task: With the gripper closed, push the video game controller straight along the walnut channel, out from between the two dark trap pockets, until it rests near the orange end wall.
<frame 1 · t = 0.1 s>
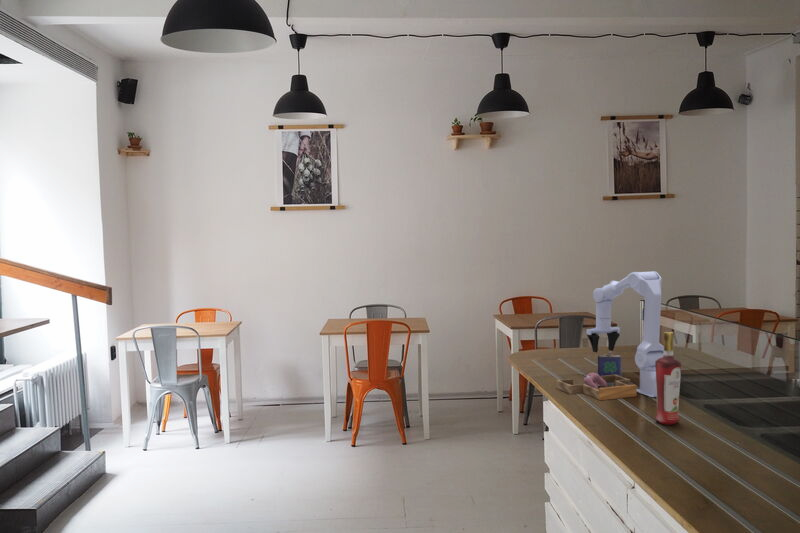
hand: (603, 351, 253), 10 cm above the counter, tool pointing down, fingers open, 7 cm apart
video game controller: (595, 389, 235), on the counter
liquor: (667, 423, 194), on the counter
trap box: (601, 391, 231), on the counter
flask: (609, 378, 251), on the counter
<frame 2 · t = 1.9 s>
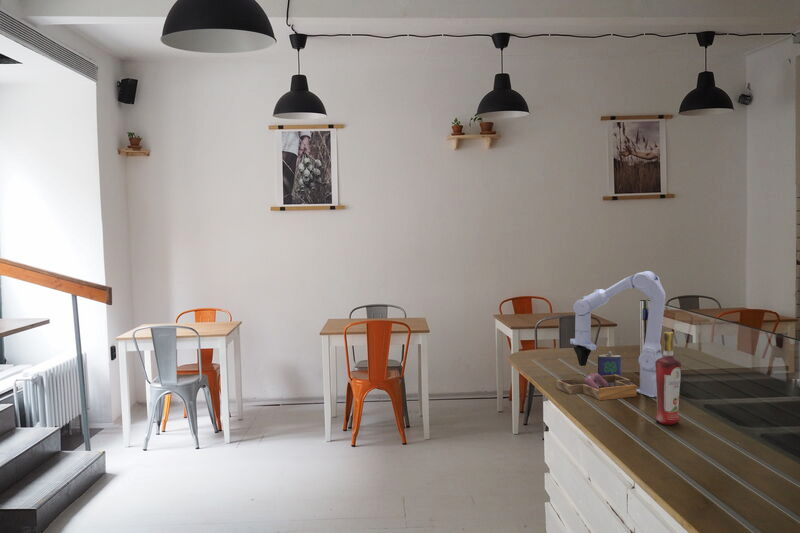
hand: (582, 365, 242), 7 cm above the counter, tool pointing down, fingers closed
nothing on the counter moved.
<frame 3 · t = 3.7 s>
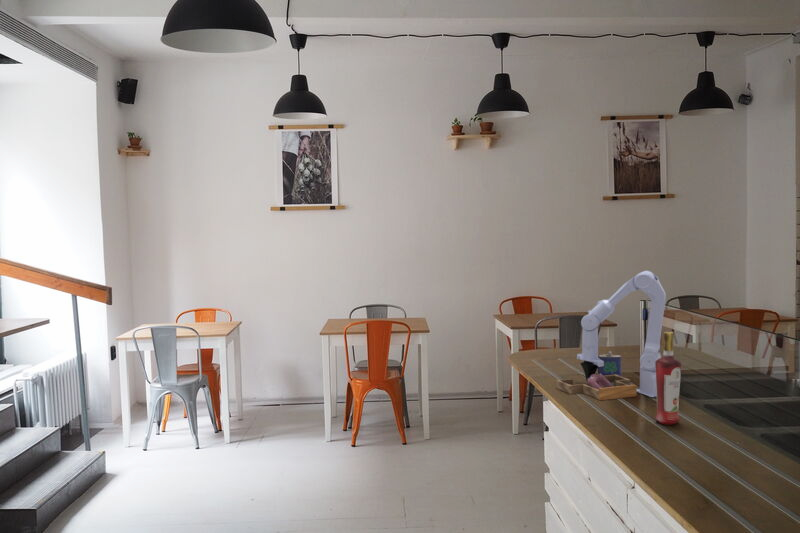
hand: (589, 381, 238), 2 cm above the counter, tool pointing down, fingers closed
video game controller: (599, 390, 233), on the counter, touching gripper
everything else where it was.
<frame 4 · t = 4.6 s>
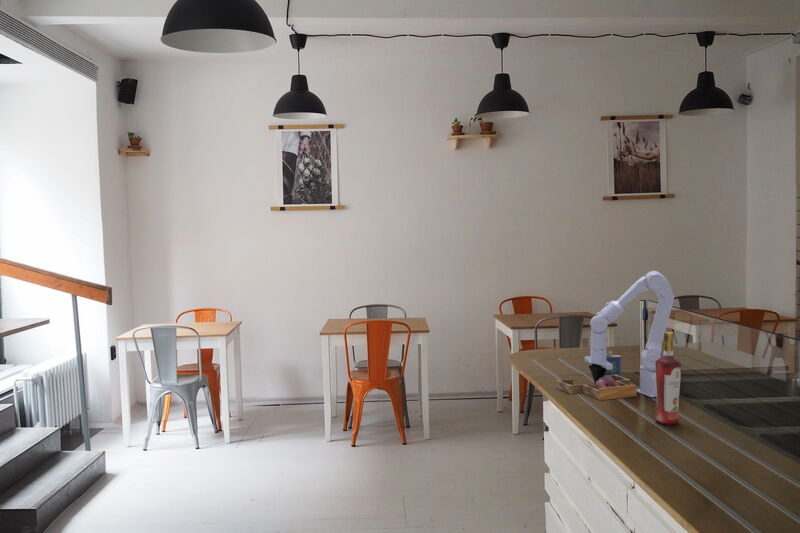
hand: (598, 384, 233), 2 cm above the counter, tool pointing down, fingers closed
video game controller: (608, 393, 228), on the counter, touching gripper
everything else where it was.
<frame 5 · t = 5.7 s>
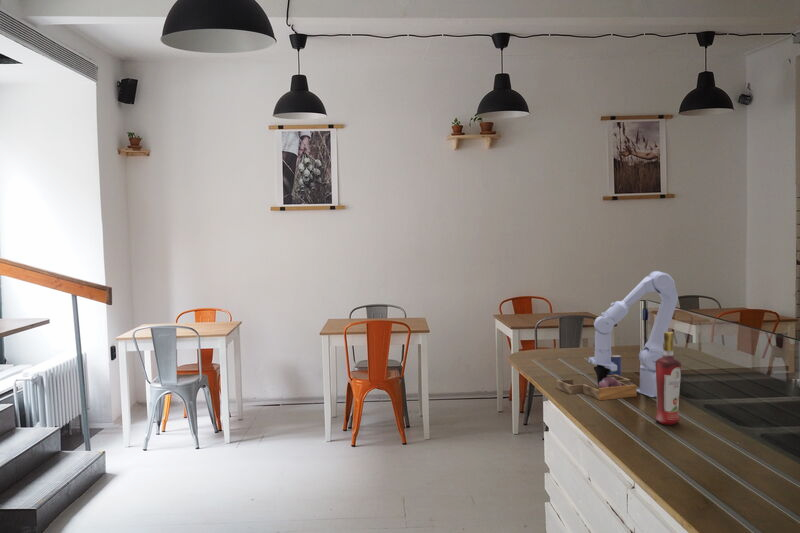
hand: (602, 385, 230), 2 cm above the counter, tool pointing down, fingers closed, pressing on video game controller
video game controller: (611, 394, 227), on the counter, touching gripper, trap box
everything else where it was.
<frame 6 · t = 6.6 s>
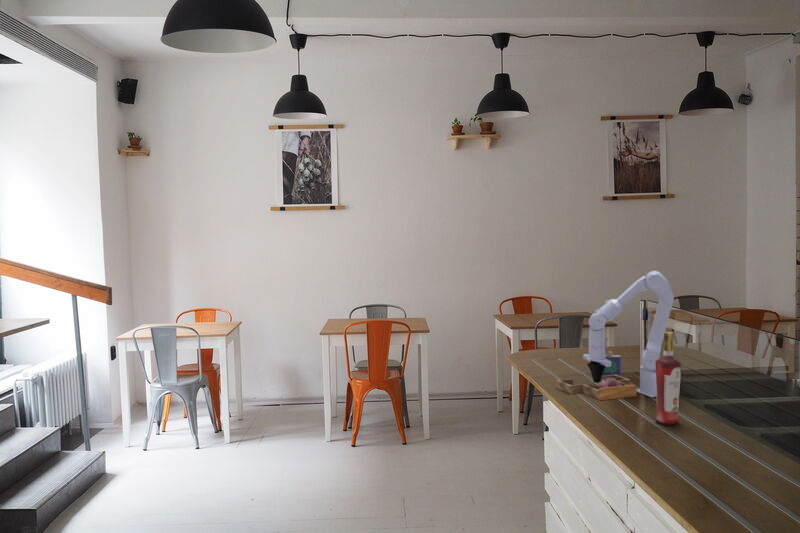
hand: (596, 382, 234), 3 cm above the counter, tool pointing down, fingers closed
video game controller: (611, 394, 227), on the counter
everything else where it was.
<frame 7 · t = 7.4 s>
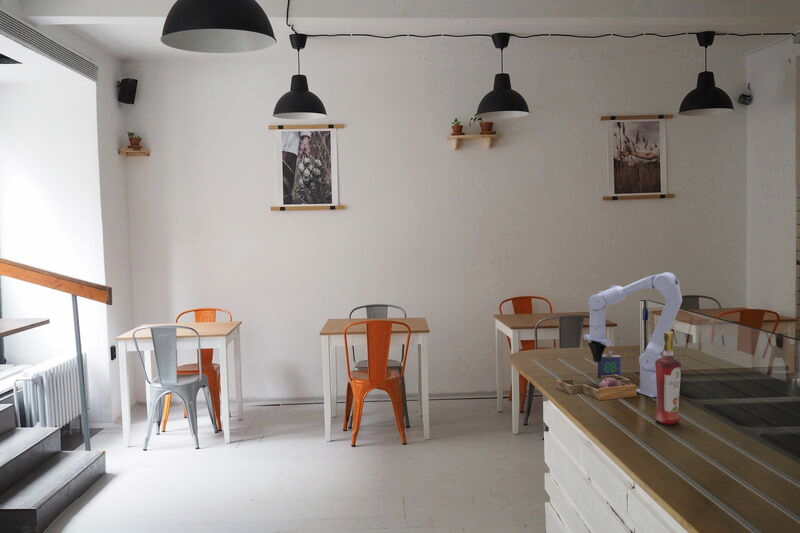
hand: (597, 361, 238), 9 cm above the counter, tool pointing down, fingers closed
nothing on the counter moved.
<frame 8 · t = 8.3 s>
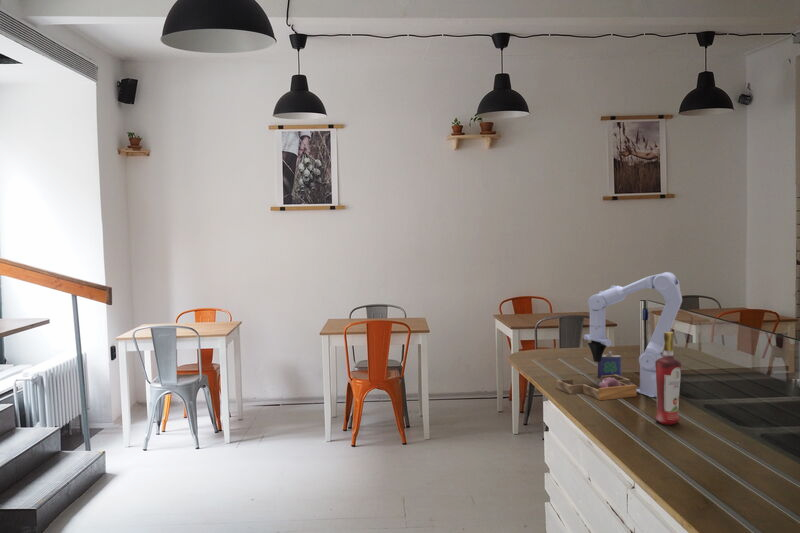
hand: (597, 361, 238), 9 cm above the counter, tool pointing down, fingers closed
nothing on the counter moved.
at the end: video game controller inside the target area (1.2 cm from its centre), on the counter; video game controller tilted 0° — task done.
